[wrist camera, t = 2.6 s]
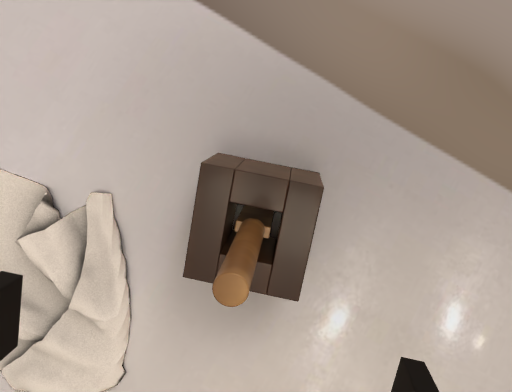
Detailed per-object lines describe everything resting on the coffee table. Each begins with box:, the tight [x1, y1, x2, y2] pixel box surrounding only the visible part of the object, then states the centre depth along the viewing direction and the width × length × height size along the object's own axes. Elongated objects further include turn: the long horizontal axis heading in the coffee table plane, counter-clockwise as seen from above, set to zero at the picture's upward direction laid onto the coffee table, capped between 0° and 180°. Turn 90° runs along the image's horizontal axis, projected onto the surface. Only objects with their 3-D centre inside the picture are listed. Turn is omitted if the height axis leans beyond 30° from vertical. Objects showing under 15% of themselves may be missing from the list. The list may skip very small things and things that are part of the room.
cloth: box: [0, 169, 131, 392], centre depth 37 cm, size 20×22×2 cm
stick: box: [212, 205, 274, 307], centre depth 27 cm, size 2×2×15 cm
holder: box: [183, 153, 324, 301], centre depth 32 cm, size 8×8×6 cm
